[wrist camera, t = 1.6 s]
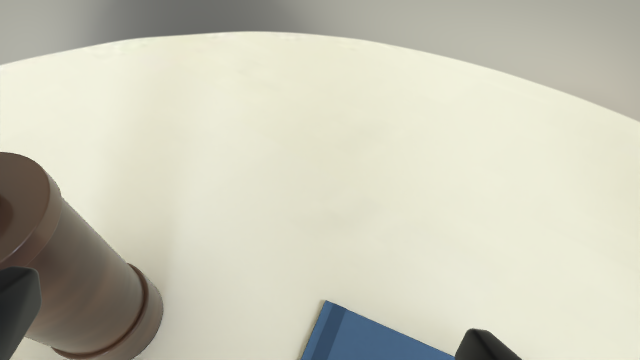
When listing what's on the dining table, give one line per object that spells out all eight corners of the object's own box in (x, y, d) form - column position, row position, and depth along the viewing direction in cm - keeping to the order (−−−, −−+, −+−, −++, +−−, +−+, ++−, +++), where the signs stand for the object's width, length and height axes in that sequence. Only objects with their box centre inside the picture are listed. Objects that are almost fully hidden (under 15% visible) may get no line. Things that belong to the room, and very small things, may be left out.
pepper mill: (123, 385, 19) (-85, 319, 9) (48, 343, 20) (-216, 241, 10) (181, 296, 22) (73, 168, 12) (112, 263, 23) (-42, 119, 13)
